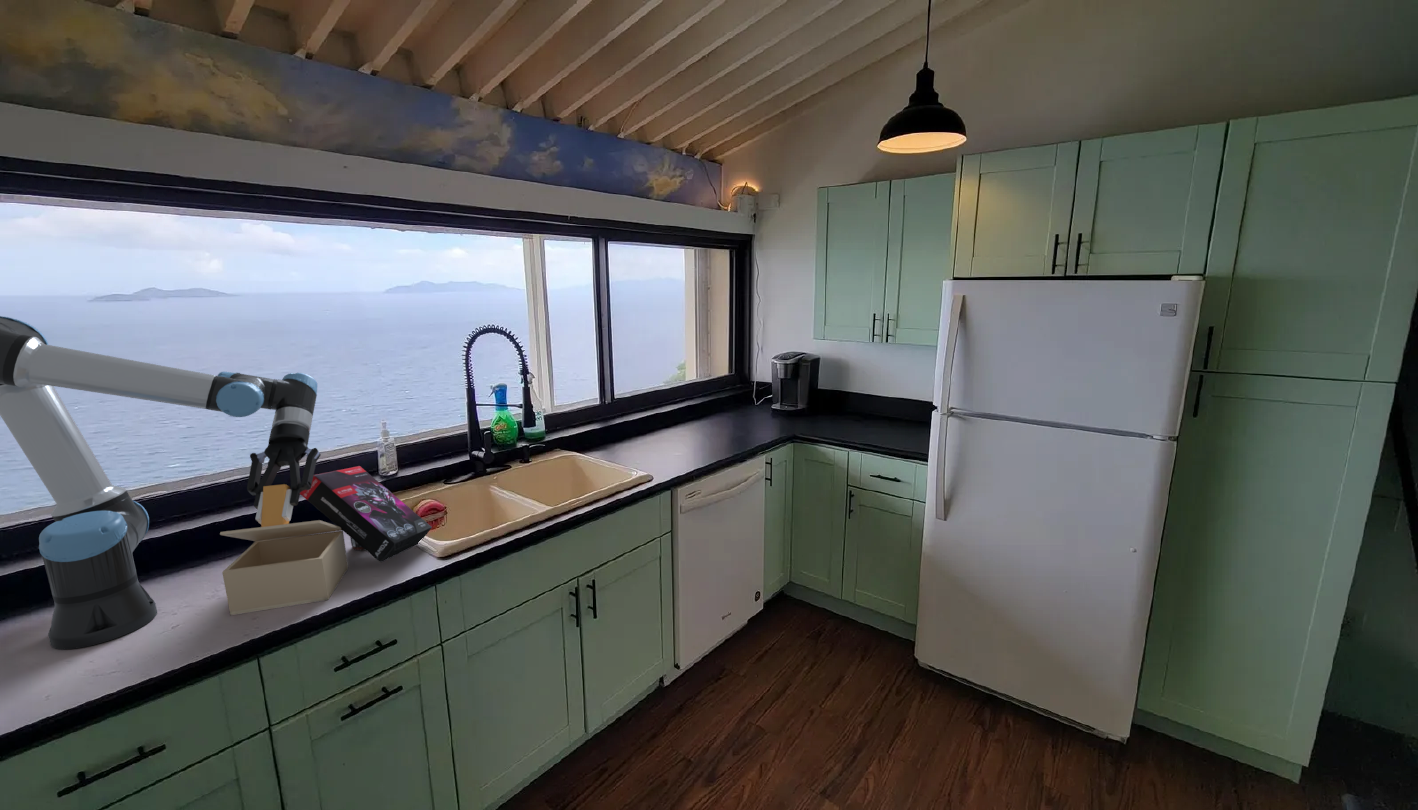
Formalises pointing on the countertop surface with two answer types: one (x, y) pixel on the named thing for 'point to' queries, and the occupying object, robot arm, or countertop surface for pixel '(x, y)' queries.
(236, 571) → the carton
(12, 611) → the countertop surface
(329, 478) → the graphics card box
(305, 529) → the carton flap
